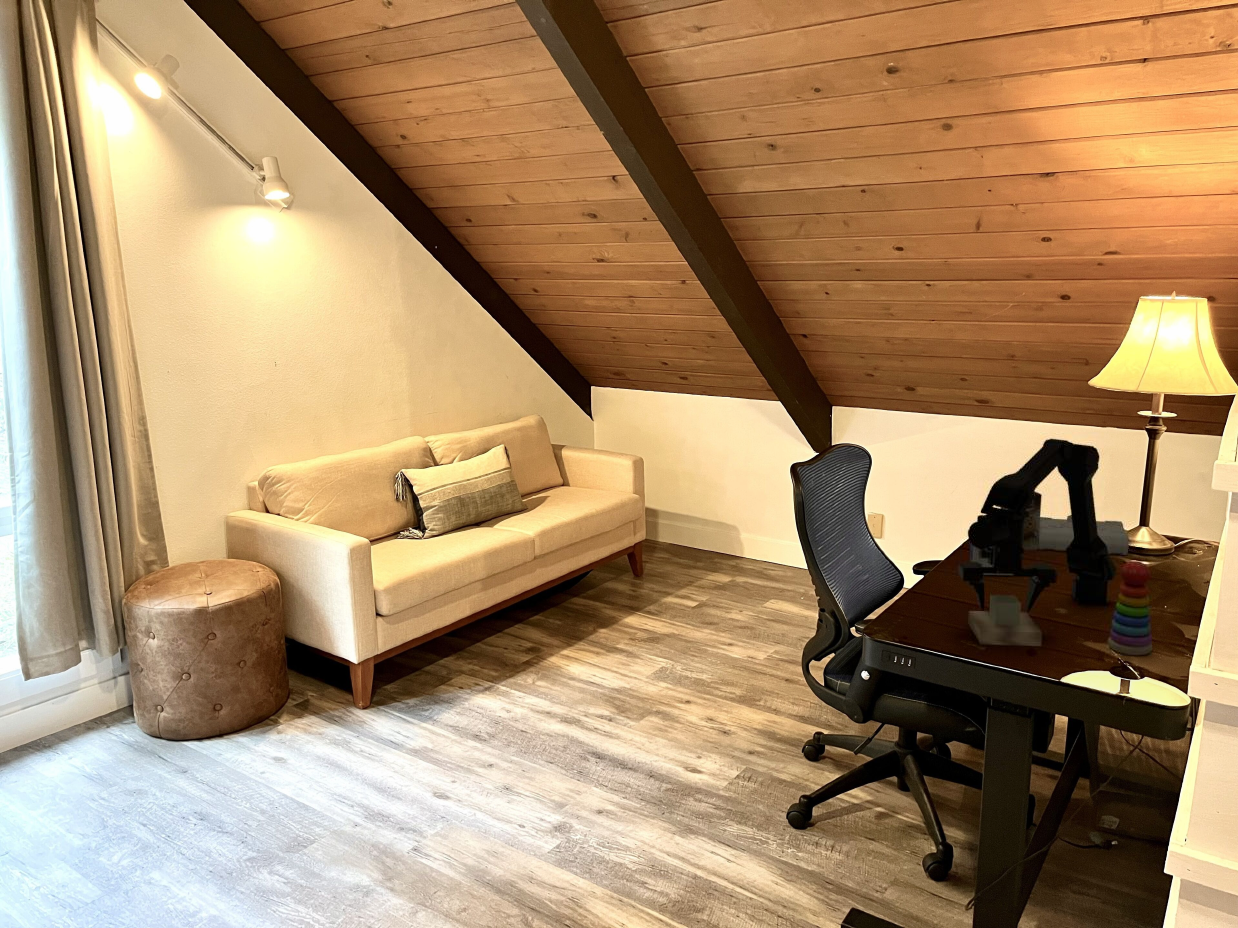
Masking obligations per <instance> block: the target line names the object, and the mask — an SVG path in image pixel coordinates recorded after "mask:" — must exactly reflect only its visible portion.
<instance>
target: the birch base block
mask: <svg viewBox="0 0 1238 928" xmlns="http://www.w3.org/2000/svg"><path fill="white" fill-rule="evenodd" d="M989 614H990V610H989V611H982V610H980V611H979V610H968V625H969V627H970V629H971V630H972V632H973V634H974V636H975V637H976V639H977V641H978V642H979V644H980V645H990V646H992V645H993V646H994V645H995V646H1020V647H1021V646H1022V647H1023V646H1024V647H1025V646H1026V647H1042V638H1043V632H1042V630H1041V629H1040V628H1039V627H1038V626H1037V624H1036V623H1035V622H1034V620H1033V619H1032V618H1031V617H1030V615H1029V614H1028V612H1027V611H1026V612H1021V613H1020V626H1004V625H994V623H993V622H992V620H991V619H990V617H989Z"/></svg>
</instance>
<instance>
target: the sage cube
mask: <svg viewBox="0 0 1238 928" xmlns="http://www.w3.org/2000/svg"><path fill="white" fill-rule="evenodd" d="M989 599H990V600H989V612H990V614H989V617H990V619H991V620H992V622H993V623H994V625H1004V626H1020V613H1021V608H1022V603H1021V601H1020V600H1019V599H1018V598H1017V596H1016V595H1012V594H1011V595H1009V594H1007V595H1004V594H990V595H989Z"/></svg>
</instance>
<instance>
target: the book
mask: <svg viewBox="0 0 1238 928" xmlns="http://www.w3.org/2000/svg"><path fill="white" fill-rule="evenodd" d="M1096 524H1097V533H1098V536H1099V537H1100V538H1101V539H1102V541H1103V542H1104V543H1105V544H1106V546H1107V550H1108V554H1109V555H1121V556H1125V557H1126V556H1127V555H1128V552H1129V544H1130V543H1129V542H1131V540H1130V538H1129V537H1130V536H1129V533H1128V531H1126V529H1125V528H1124V524H1123V522H1122V521H1120V520H1104V521H1103V520H1102V521H1100V520H1099V521H1098V520H1096ZM1073 539H1074V533H1073V525H1072V517H1071V514H1069V515H1068V516H1067V517H1066V518H1065V519H1064V518H1053V517H1049V516H1048V517H1047V516H1040V528H1039V542H1038V550H1039V551H1040V550H1041V551H1044V550H1047V551H1048V550H1049V551H1054V552H1055V551H1057V552H1066V548H1067V547H1068V546H1069V545H1070V544H1071V542H1072V541H1073Z"/></svg>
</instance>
